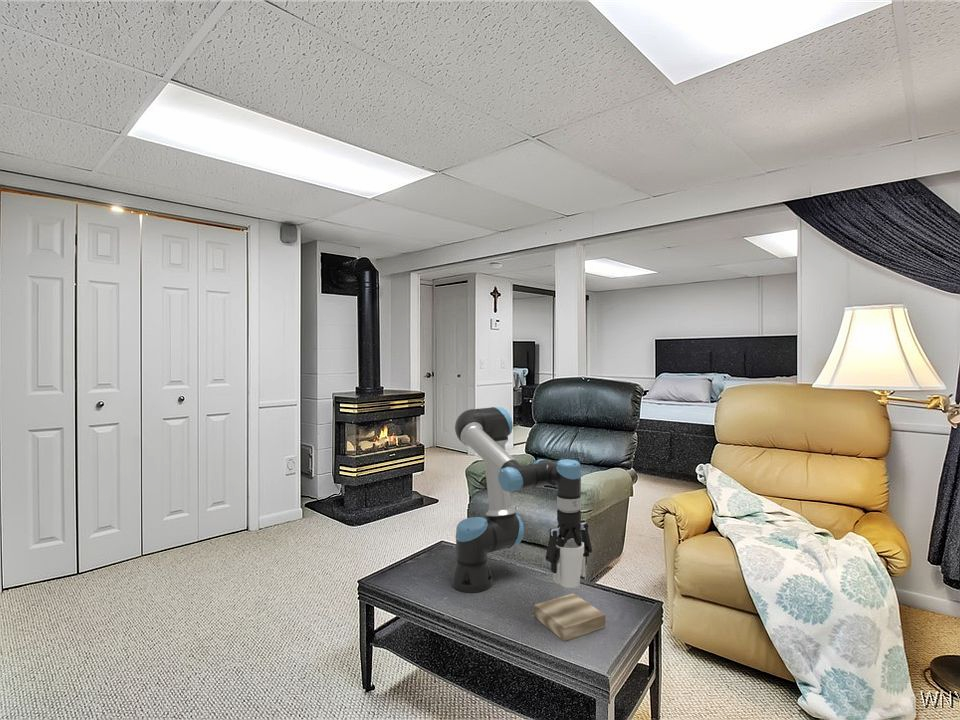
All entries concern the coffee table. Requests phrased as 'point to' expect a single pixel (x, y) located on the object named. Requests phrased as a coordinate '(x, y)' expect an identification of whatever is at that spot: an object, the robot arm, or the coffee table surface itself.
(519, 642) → the coffee table surface
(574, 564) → the foam cup
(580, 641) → the coffee table surface
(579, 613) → the wooden base
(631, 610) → the coffee table surface
